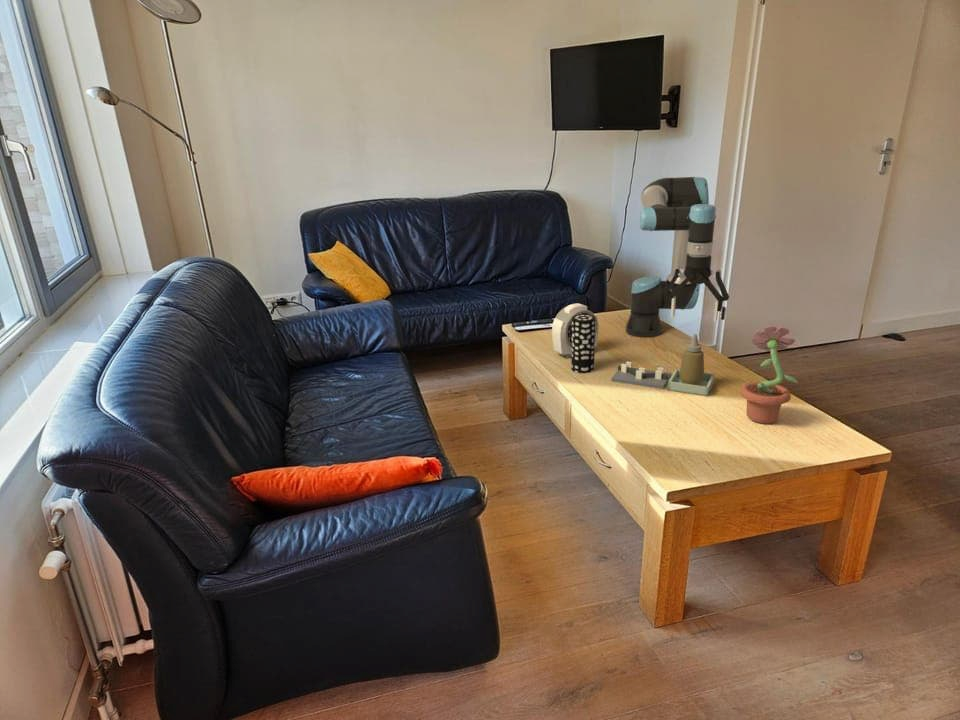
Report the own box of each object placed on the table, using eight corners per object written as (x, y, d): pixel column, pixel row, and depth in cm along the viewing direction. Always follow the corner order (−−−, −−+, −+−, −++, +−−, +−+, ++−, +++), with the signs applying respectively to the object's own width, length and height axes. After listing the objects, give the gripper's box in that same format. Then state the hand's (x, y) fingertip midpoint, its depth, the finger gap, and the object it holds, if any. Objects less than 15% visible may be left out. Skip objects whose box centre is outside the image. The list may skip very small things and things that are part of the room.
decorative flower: (790, 412, 192) (804, 319, 182) (791, 432, 181) (806, 334, 170) (738, 405, 198) (749, 315, 188) (735, 424, 187) (746, 329, 176)
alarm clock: (562, 361, 240) (562, 311, 233) (550, 355, 247) (549, 305, 240) (600, 352, 248) (601, 303, 240) (587, 346, 255) (588, 298, 247)
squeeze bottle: (700, 380, 217) (704, 331, 211) (705, 389, 210) (710, 338, 203) (676, 380, 218) (680, 331, 212) (680, 389, 211) (684, 339, 204)
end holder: (675, 376, 222) (676, 368, 221) (713, 381, 216) (714, 373, 215) (667, 390, 212) (667, 382, 211) (707, 396, 206) (708, 387, 205)
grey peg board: (620, 369, 231) (621, 359, 229) (670, 376, 222) (671, 365, 221) (611, 381, 221) (611, 370, 219) (663, 389, 213) (664, 378, 211)
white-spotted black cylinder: (598, 368, 232) (599, 316, 225) (585, 375, 227) (586, 322, 220) (579, 363, 238) (580, 312, 231) (566, 369, 232) (567, 318, 225)
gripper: (656, 254, 202) (652, 317, 209) (739, 259, 190) (732, 325, 198) (661, 250, 208) (658, 311, 215) (742, 254, 197) (735, 318, 204)
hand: (693, 318), depth 207 cm, fingers open, 13 cm apart
